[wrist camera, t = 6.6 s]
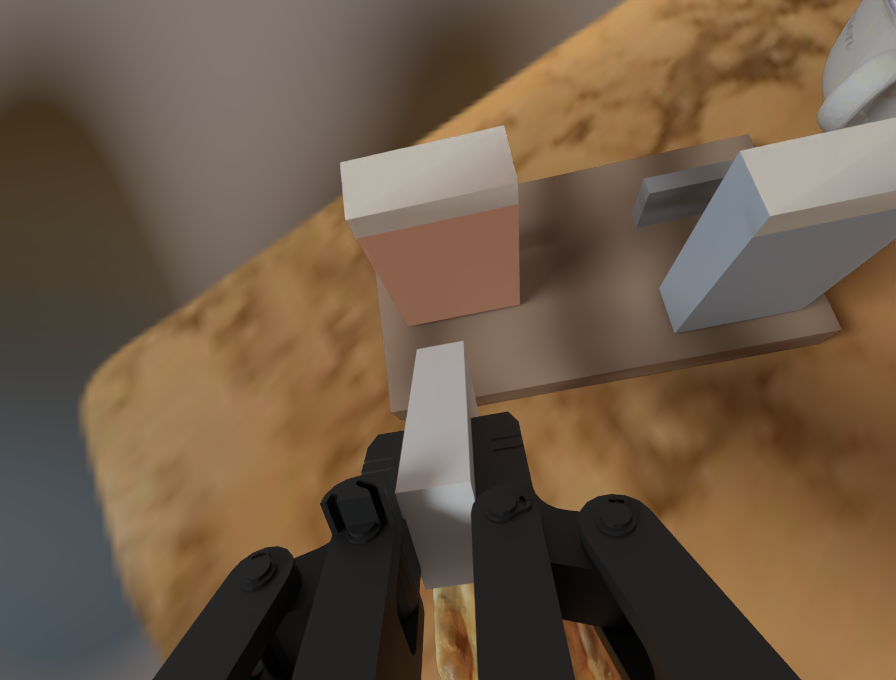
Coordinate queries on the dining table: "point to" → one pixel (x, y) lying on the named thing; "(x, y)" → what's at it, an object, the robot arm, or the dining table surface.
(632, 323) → the taupe stand
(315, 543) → the dining table surface
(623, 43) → the dining table surface
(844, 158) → the grey rectangular block
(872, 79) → the teacup
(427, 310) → the pink upright block
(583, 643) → the pastry
